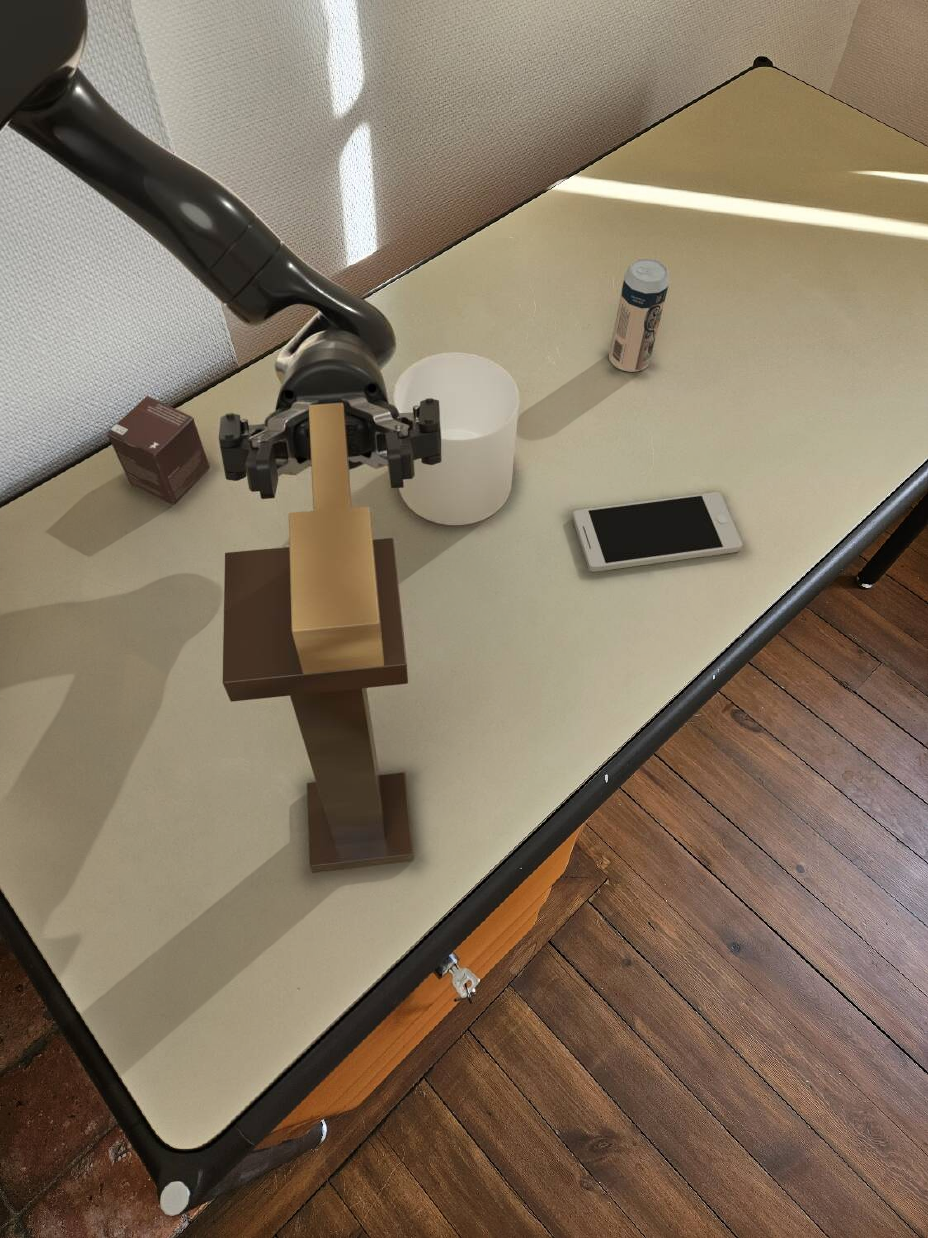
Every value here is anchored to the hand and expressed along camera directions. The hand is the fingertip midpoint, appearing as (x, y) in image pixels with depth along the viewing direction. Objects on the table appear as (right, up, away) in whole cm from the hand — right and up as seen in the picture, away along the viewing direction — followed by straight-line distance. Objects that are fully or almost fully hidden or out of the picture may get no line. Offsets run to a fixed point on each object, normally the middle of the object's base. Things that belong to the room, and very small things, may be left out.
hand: (331, 476), depth 49 cm
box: (-23, +7, +45) cm, 51 cm away
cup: (+6, +6, +45) cm, 46 cm away
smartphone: (+26, +1, +41) cm, 49 cm away
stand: (-1, -24, +25) cm, 35 cm away
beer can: (+26, +22, +55) cm, 65 cm away
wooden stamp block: (0, -3, 0) cm, 3 cm away
